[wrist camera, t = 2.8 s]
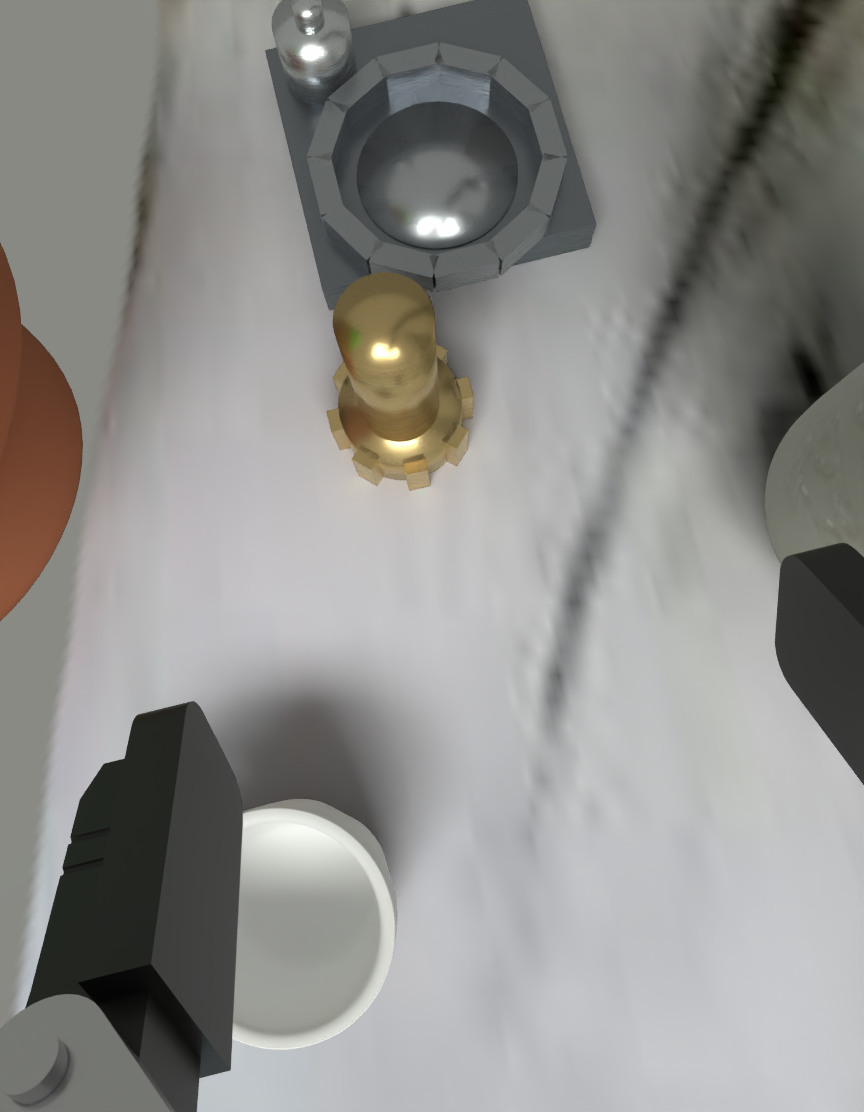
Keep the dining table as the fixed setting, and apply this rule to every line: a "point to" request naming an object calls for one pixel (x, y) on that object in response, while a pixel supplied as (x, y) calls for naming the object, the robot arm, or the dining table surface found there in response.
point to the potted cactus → (32, 450)
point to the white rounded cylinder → (820, 474)
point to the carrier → (426, 143)
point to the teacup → (309, 924)
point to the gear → (396, 383)
